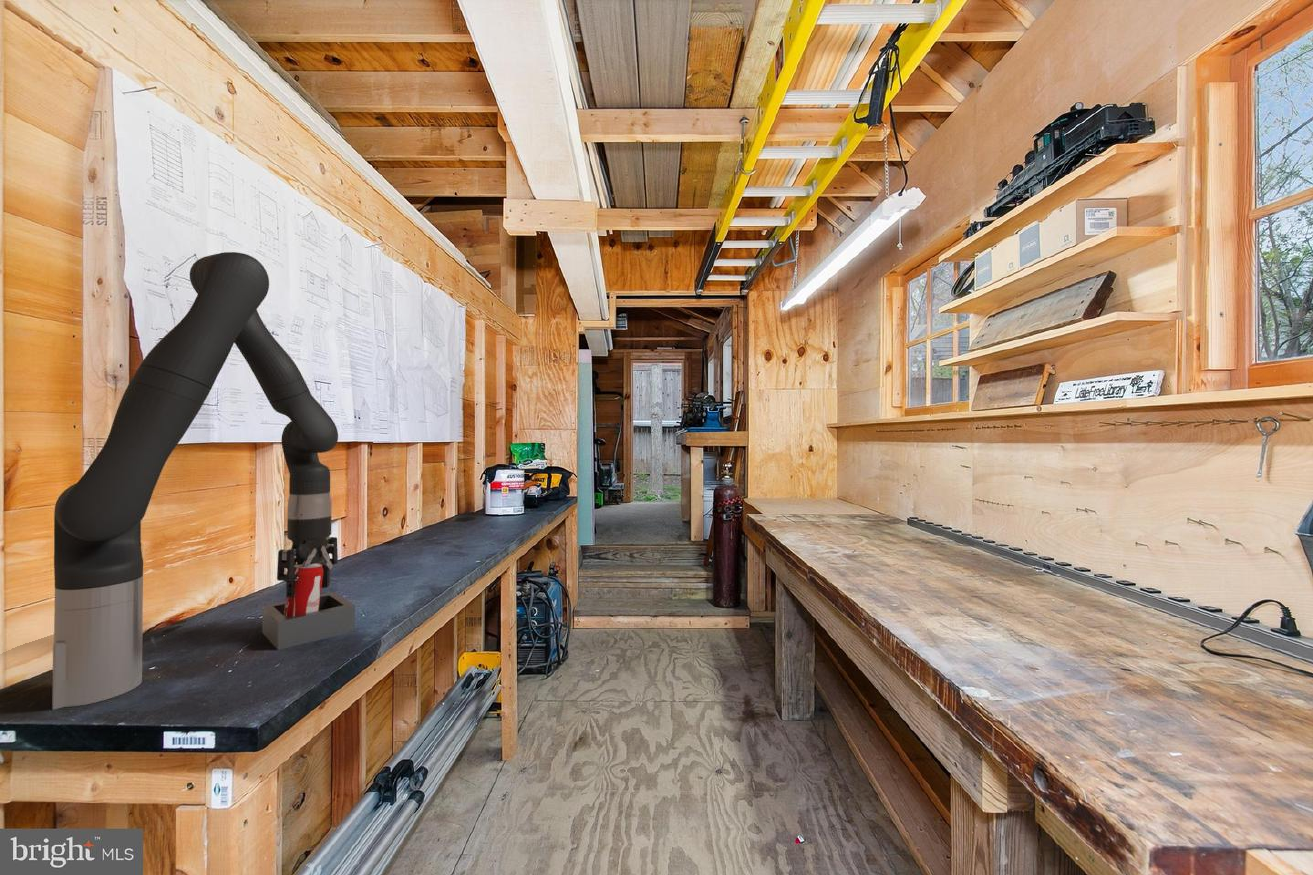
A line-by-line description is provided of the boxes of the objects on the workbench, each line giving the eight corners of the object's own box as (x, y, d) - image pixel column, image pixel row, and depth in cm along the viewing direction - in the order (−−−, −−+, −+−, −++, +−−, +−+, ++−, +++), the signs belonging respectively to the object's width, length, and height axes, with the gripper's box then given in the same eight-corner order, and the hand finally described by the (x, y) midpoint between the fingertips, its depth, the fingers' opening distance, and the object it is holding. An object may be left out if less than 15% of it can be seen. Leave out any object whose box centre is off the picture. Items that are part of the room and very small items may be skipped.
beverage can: (277, 639, 101) (281, 564, 101) (315, 631, 106) (318, 559, 106) (285, 647, 97) (288, 569, 97) (324, 638, 102) (327, 564, 102)
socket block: (277, 653, 94) (278, 621, 94) (262, 635, 103) (262, 606, 103) (354, 633, 104) (354, 605, 104) (334, 618, 113) (334, 592, 113)
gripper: (302, 520, 97) (301, 604, 96) (349, 510, 111) (349, 583, 111) (264, 520, 97) (263, 604, 97) (316, 509, 111) (315, 583, 111)
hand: (309, 593), depth 104 cm, fingers open, 8 cm apart
